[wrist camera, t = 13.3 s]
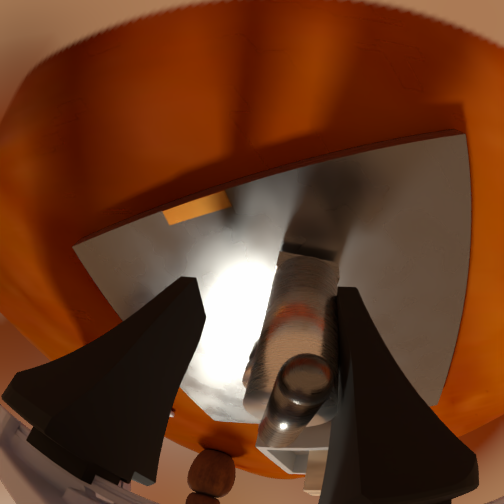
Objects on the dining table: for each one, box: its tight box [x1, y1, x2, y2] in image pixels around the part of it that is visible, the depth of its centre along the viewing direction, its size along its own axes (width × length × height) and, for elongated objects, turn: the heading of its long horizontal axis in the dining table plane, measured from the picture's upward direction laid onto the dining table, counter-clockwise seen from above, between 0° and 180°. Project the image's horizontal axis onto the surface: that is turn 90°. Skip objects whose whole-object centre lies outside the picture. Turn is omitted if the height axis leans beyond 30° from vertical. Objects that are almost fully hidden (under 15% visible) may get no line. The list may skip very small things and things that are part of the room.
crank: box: [242, 251, 340, 448], centre depth 11 cm, size 12×4×7 cm, turn 174°
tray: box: [255, 422, 331, 474], centre depth 23 cm, size 12×12×3 cm
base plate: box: [72, 129, 471, 423], centre depth 16 cm, size 20×20×1 cm
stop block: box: [303, 450, 328, 495], centre depth 21 cm, size 4×4×6 cm
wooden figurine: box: [186, 449, 235, 504], centre depth 28 cm, size 7×6×15 cm
